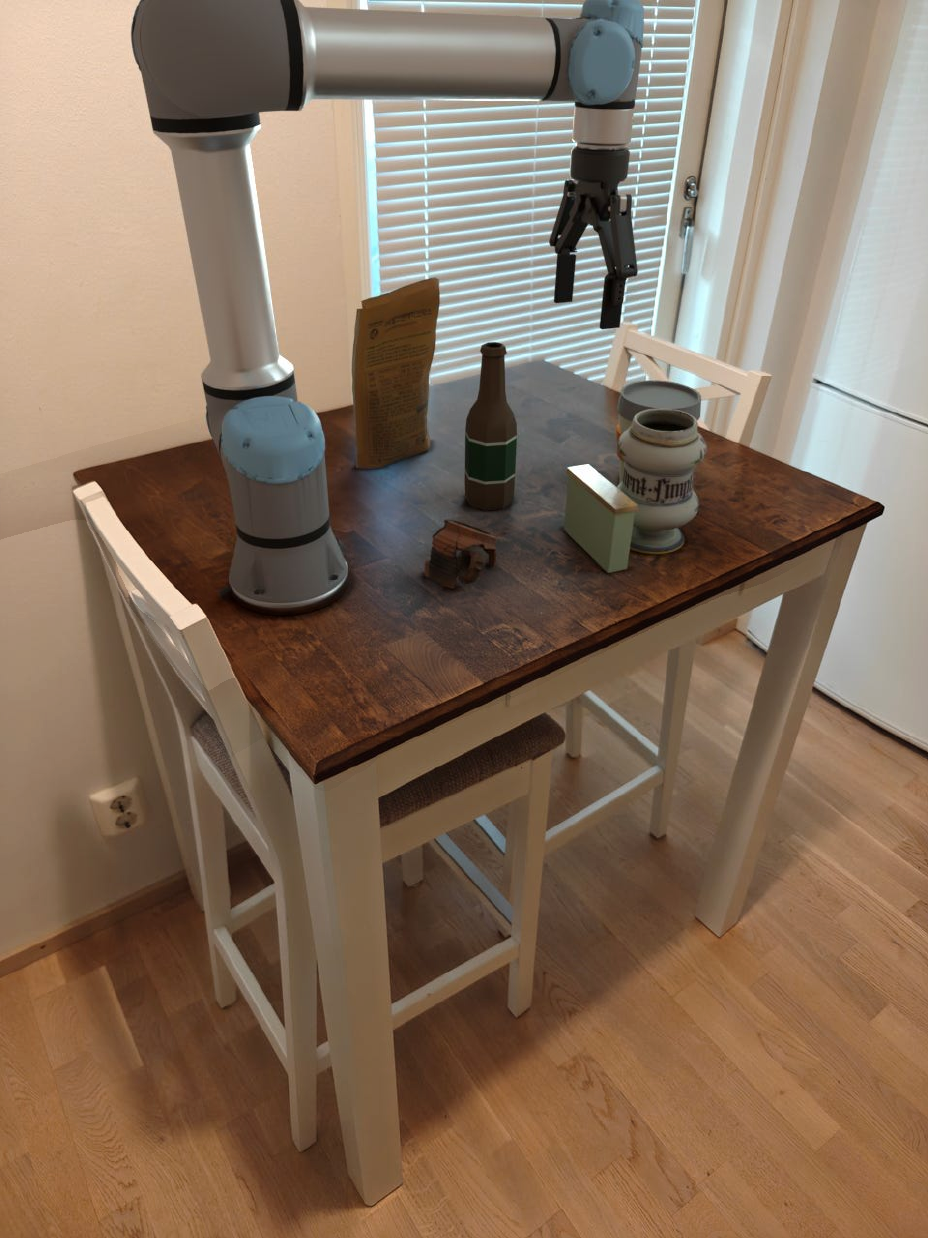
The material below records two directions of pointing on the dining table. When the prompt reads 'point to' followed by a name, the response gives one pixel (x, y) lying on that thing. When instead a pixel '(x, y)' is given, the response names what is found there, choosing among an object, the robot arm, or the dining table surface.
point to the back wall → (599, 517)
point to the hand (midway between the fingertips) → (585, 314)
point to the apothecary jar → (661, 476)
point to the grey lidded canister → (653, 403)
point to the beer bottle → (490, 437)
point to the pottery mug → (473, 559)
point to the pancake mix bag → (393, 373)
